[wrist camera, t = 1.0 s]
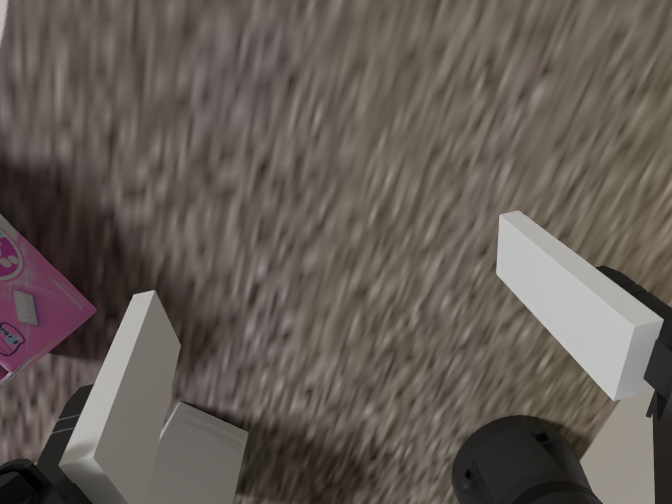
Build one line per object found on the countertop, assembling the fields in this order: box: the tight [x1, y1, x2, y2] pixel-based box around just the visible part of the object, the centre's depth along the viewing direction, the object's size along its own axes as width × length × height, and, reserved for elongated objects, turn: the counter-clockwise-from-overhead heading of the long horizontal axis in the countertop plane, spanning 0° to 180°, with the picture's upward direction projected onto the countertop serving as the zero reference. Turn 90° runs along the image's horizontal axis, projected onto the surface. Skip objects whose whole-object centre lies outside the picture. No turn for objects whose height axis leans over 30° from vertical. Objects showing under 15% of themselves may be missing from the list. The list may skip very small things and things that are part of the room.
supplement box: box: [145, 402, 248, 504], centre depth 41 cm, size 9×9×15 cm
